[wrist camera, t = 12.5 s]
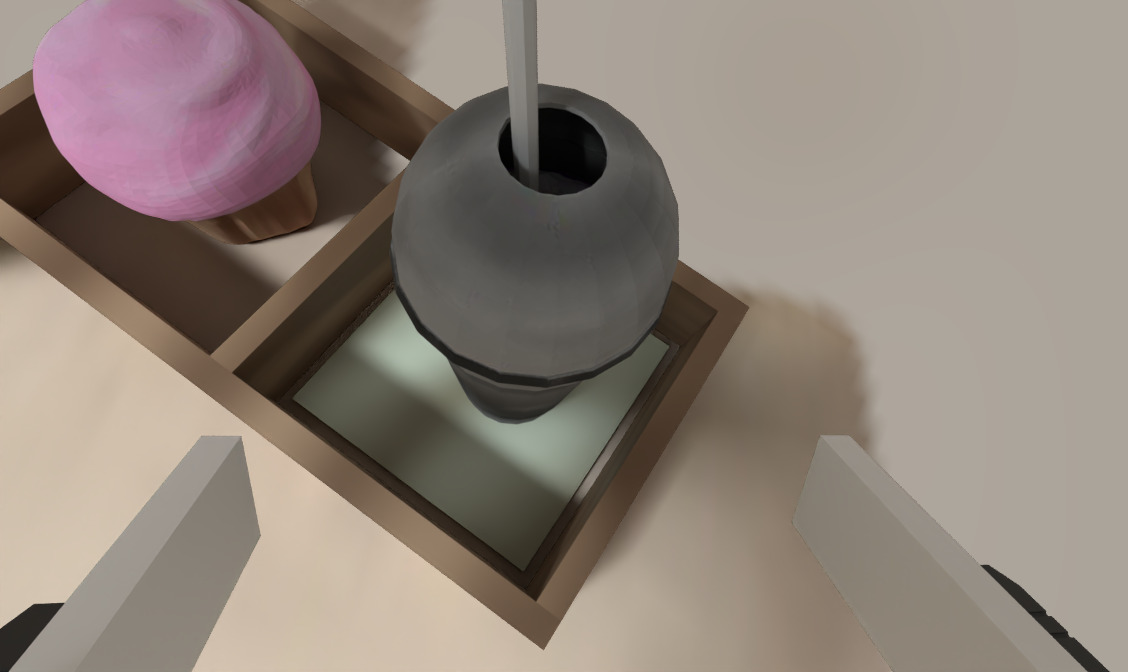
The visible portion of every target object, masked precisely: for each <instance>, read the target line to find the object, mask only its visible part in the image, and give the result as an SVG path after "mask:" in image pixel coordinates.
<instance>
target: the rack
mask: <svg viewBox="0 0 1128 672" xmlns="http://www.w3.org/2000/svg"><path fill="white" fill-rule="evenodd" d="M238 1H240V2H241V3H243V4H245V5H246V6H248V7H250V8H251V9H252V10H253V11H254V12H256V13H257V14H259V15H260V16H261V17H263V18H264V19H265V20H267V21H268V22H269V23H270V24H271V25H272V26H273V27H274V28H275V29H276V30H277V32H278V33H279V34H280V36H281V37H282V38H283V39H284V41H285V42H286V43H287V45H288V46H289V47H290V48H291V50H292V51H293V52H294V53H295V55H296V56H297V57H298V58H299V60H300V61H301V62H302V64H303V65H304V67H305V68H306V70H307V71H308V73H309V74H310V76H311V78H312V79H313V82H314V85H315V88H316V90H317V93H318V98H319V99H320V100H322V101H323V102H325V103H326V104H328V105H329V106H331V107H332V108H334V109H335V110H337V111H338V112H339V113H341V114H342V115H344V116H345V117H347V118H348V119H350V120H351V121H353V122H354V123H356V124H357V125H358V126H360V127H361V128H363V129H364V130H366V131H367V132H369V133H370V134H372V135H373V136H374V137H376V138H377V139H379V140H380V141H382V142H383V143H385V144H386V145H388V146H389V147H391V148H392V149H393V150H395V151H396V152H398V153H399V154H401V155H402V156H404V157H405V158H407V159H408V160H410V161H411V159H412V158H413V156H414V155H415V153H416V152H417V150H418V149H419V147H420V146H421V144H422V143H423V141H424V140H425V138H426V136H427V135H428V134H429V133H430V131H431V130H432V129H433V128H434V127H435V126H436V125H437V124H438V123H440V122H441V121H442V120H443V119H445V118H446V117H447V116H449V115H450V114H451V113H453V112H454V111H455V110H454V109H452V108H451V107H449V106H448V105H446V104H445V103H444V102H442V101H440V100H439V99H438V98H436V97H435V96H433V95H432V94H430V93H429V92H427V91H426V90H424V89H423V88H421V87H420V86H418V85H417V84H415V83H414V82H412V81H411V80H409V79H408V78H406V77H405V76H403V75H402V74H400V73H399V72H397V71H396V70H394V69H393V68H391V67H390V66H388V65H387V64H385V63H384V62H382V61H381V60H379V59H378V58H376V57H375V56H373V55H372V54H370V53H369V52H367V51H366V50H364V49H363V48H361V47H360V46H358V45H357V44H355V43H354V42H352V41H351V40H349V39H348V38H346V37H345V36H343V35H342V34H340V33H339V32H337V31H336V30H334V29H333V28H331V27H330V26H328V25H327V24H325V23H324V22H323V21H321V20H320V19H318V18H317V17H315V16H314V15H312V14H311V13H309V12H308V11H306V10H305V9H303V8H302V7H300V6H299V5H297V4H296V3H294V2H293V1H291V0H238ZM406 168H407V167H406ZM406 168H405V169H404V170H403V171H402V172H401V173H400V174H399V175H398V176H397V177H396V178H395V179H394V180H393V181H392V182H390V183H389V184H388V185H387V186H386V187H385V188H384V189H383V190H382V191H381V192H380V193H379V194H378V195H377V196H376V197H375V198H374V199H373V200H372V201H371V202H370V203H369V204H368V205H367V206H365V207H364V208H363V209H362V210H361V211H360V212H359V213H358V214H357V215H356V216H355V217H354V218H353V219H352V220H351V221H350V222H349V223H348V224H347V225H346V226H345V227H344V228H343V229H342V230H340V231H339V232H338V233H337V234H336V235H335V236H334V237H333V238H332V239H331V240H330V241H329V242H328V243H327V244H326V245H325V246H324V247H323V248H322V249H321V250H320V251H319V252H318V253H316V254H315V255H314V256H313V257H312V258H311V259H310V260H309V261H308V262H307V263H306V264H305V265H304V266H303V267H302V268H301V269H300V270H299V271H298V272H297V273H296V274H295V275H294V276H293V277H291V278H290V279H289V280H288V281H287V282H286V283H285V284H284V285H283V286H282V287H281V288H280V289H279V290H278V291H277V292H276V293H275V294H274V295H273V296H272V297H271V298H270V299H269V300H268V301H266V302H265V303H264V304H263V305H262V306H261V307H260V308H259V309H258V310H257V311H256V312H255V313H254V314H253V315H252V316H251V317H250V318H249V319H248V320H247V321H246V322H245V323H244V324H242V325H241V326H240V327H239V328H238V329H237V330H236V331H235V332H234V333H233V334H232V335H231V336H230V337H229V338H228V339H227V340H226V341H225V342H224V343H223V344H222V345H221V346H220V347H219V348H217V349H216V350H215V351H214V352H213V353H212V354H211V353H210V352H209V351H207V350H206V349H205V348H203V347H202V346H201V345H199V344H198V343H197V342H195V341H194V340H193V339H191V338H190V337H189V336H187V335H186V334H185V333H183V332H182V331H181V330H179V329H178V328H177V327H175V326H174V325H173V324H171V323H170V322H169V321H167V320H166V319H165V318H163V317H162V316H161V315H159V314H158V313H157V312H155V311H154V310H153V309H151V308H150V307H149V306H147V305H146V304H145V303H143V302H142V301H141V300H139V299H138V298H137V297H136V296H134V295H133V294H132V293H130V292H129V291H128V290H126V289H125V288H124V287H122V286H121V285H120V284H118V283H117V282H116V281H114V280H113V279H112V278H110V277H109V276H108V275H106V274H105V273H104V272H102V271H101V270H100V269H98V268H97V267H96V266H94V265H93V264H92V263H90V262H89V261H88V260H86V259H85V258H84V257H82V256H81V255H80V254H78V253H77V252H76V251H74V250H73V249H72V248H70V247H69V246H68V245H66V244H65V243H64V242H62V241H61V240H60V239H58V238H57V237H56V236H54V235H53V234H52V233H50V232H49V231H48V230H46V229H45V228H44V227H42V226H41V225H40V224H38V223H37V222H36V221H34V220H33V219H35V218H36V217H37V216H39V215H40V214H41V213H43V212H44V211H46V210H47V209H48V208H50V207H51V206H52V205H54V204H55V203H56V202H58V201H59V200H60V199H62V198H63V197H64V196H66V195H67V194H69V193H70V192H71V191H73V190H74V189H75V188H77V187H78V186H79V185H81V184H82V183H83V182H85V181H86V180H84V178H83V177H82V176H81V175H80V174H79V173H78V172H77V171H76V170H75V169H74V167H73V166H72V165H71V164H70V163H69V162H68V160H67V159H66V158H65V157H64V156H63V155H62V154H61V152H60V151H59V149H58V148H57V146H56V145H55V143H54V142H53V139H52V137H51V134H50V132H49V129H48V127H47V125H46V122H45V120H44V117H43V115H42V113H41V110H40V108H39V105H38V102H37V99H36V96H35V92H34V83H33V69H32V70H30V71H29V72H27V73H25V74H24V75H22V76H21V77H19V78H18V79H16V80H15V81H13V82H11V83H10V84H8V85H7V86H5V87H3V88H2V89H0V237H1V238H3V239H4V240H5V241H7V242H8V243H9V244H10V245H12V246H13V247H14V248H16V249H17V250H18V251H20V252H21V253H22V254H24V255H25V256H26V257H28V258H29V259H30V260H31V261H33V262H34V263H35V264H37V265H38V266H39V267H41V268H42V269H43V270H45V271H46V272H47V273H49V274H50V275H51V276H53V277H54V278H55V279H56V280H58V281H59V282H60V283H62V284H63V285H64V286H66V287H67V288H68V289H70V290H71V291H72V292H74V293H75V294H76V295H77V296H79V297H80V298H81V299H83V300H84V301H85V302H87V303H88V304H89V305H91V306H92V307H93V308H95V309H96V310H97V311H99V312H100V313H101V314H102V315H104V316H105V317H106V318H108V319H109V320H110V321H112V322H113V323H114V324H116V325H117V326H118V327H120V328H121V329H122V330H123V331H125V332H126V333H127V334H129V335H130V336H131V337H133V338H134V339H135V340H137V341H138V342H139V343H141V344H142V345H143V346H144V347H146V348H147V349H148V350H150V351H151V352H152V353H154V354H155V355H156V356H158V357H159V358H160V359H162V360H163V361H164V362H166V363H167V364H168V365H169V366H171V367H172V368H173V369H175V370H176V371H177V372H179V373H180V374H181V375H183V376H184V377H185V378H187V379H188V380H189V381H190V382H192V383H193V384H194V385H196V386H197V387H198V388H200V389H201V390H202V391H204V392H205V393H206V394H208V395H209V396H210V397H212V398H213V399H214V400H215V401H217V402H218V403H219V404H221V405H222V406H223V407H225V408H226V409H227V410H229V411H230V412H231V413H233V414H234V415H235V416H236V417H238V418H239V419H240V420H242V421H243V422H244V423H246V424H247V425H248V426H250V427H251V428H252V429H254V430H255V431H256V432H258V433H259V434H260V435H261V436H263V437H264V438H265V439H267V440H268V441H269V442H271V443H272V444H273V445H275V446H276V447H277V448H279V449H280V450H281V451H282V452H284V453H285V454H286V455H288V456H289V457H290V458H292V459H293V460H294V461H296V462H297V463H298V464H300V465H301V466H302V467H304V468H305V469H306V470H307V471H309V472H310V473H311V474H313V475H314V476H315V477H317V478H318V479H319V480H321V481H322V482H323V483H325V484H326V485H327V486H328V487H330V488H331V489H332V490H334V491H335V492H336V493H338V494H339V495H340V496H342V497H343V498H344V499H346V500H347V501H348V502H350V503H351V504H352V505H353V506H355V507H356V508H357V509H359V510H360V511H361V512H363V513H364V514H365V515H367V516H368V517H369V518H371V519H372V520H373V521H374V522H376V523H377V524H378V525H380V526H381V527H382V528H384V529H385V530H386V531H388V532H389V533H390V534H392V535H393V536H394V537H395V538H397V539H398V540H399V541H401V542H402V543H403V544H405V545H406V546H407V547H409V548H410V549H411V550H413V551H414V552H415V553H417V554H418V555H419V556H420V557H422V558H423V559H424V560H426V561H427V562H428V563H430V564H431V565H432V566H434V567H435V568H436V569H438V570H439V571H440V572H441V573H443V574H444V575H445V576H447V577H448V578H449V579H451V580H452V581H453V582H455V583H456V584H457V585H459V586H460V587H461V588H463V589H464V590H465V591H466V592H468V593H469V594H470V595H472V596H473V597H474V598H476V599H477V600H478V601H480V602H481V603H482V604H484V605H485V606H486V607H487V608H489V609H490V610H491V611H493V612H494V613H495V614H497V615H498V616H499V617H501V618H502V619H503V620H505V621H506V622H507V623H509V624H510V625H511V626H512V627H514V628H515V629H516V630H518V631H519V632H520V633H522V634H523V635H524V636H526V637H527V638H528V639H530V640H531V641H532V642H533V643H535V644H536V645H537V646H539V647H540V648H541V649H543V650H544V649H545V647H546V645H547V644H548V642H549V640H550V639H551V637H552V635H553V634H554V632H555V630H556V629H557V627H558V625H559V624H560V622H561V620H562V619H563V617H564V615H565V614H566V612H567V610H568V609H569V607H570V605H571V604H572V602H573V600H574V599H575V597H576V595H577V594H578V592H579V590H580V589H581V587H582V585H583V584H584V582H585V580H586V579H587V577H588V575H589V574H590V572H591V570H592V569H593V567H594V566H595V564H596V562H597V561H598V559H599V557H600V556H601V554H602V552H603V551H604V549H605V547H606V546H607V544H608V542H609V541H610V539H611V537H612V536H613V534H614V532H615V531H616V529H617V527H618V526H619V524H620V522H621V521H622V519H623V517H624V516H625V514H626V512H627V511H628V509H629V507H630V506H631V504H632V502H633V501H634V499H635V497H636V496H637V494H638V492H639V491H640V489H641V487H642V486H643V484H644V482H645V481H646V479H647V477H648V476H649V474H650V472H651V471H652V469H653V467H654V466H655V464H656V462H657V461H658V459H659V457H660V456H661V454H662V452H663V451H664V449H665V447H666V446H667V444H668V442H669V441H670V439H671V437H672V436H673V434H674V432H675V431H676V429H677V427H678V426H679V424H680V422H681V421H682V419H683V417H684V416H685V414H686V412H687V411H688V409H689V407H690V406H691V404H692V402H693V401H694V399H695V397H696V396H697V394H698V392H699V391H700V389H701V387H702V386H703V384H704V382H705V381H706V379H707V377H708V376H709V374H710V372H711V371H712V369H713V367H714V366H715V364H716V362H717V361H718V359H719V357H720V356H721V354H722V352H723V351H724V349H725V347H726V346H727V344H728V342H729V341H730V339H731V337H732V336H733V334H734V332H735V331H736V329H737V327H738V326H739V324H740V322H741V321H742V319H743V317H744V316H745V314H746V312H747V311H748V309H749V307H748V306H747V305H745V304H744V303H742V302H741V301H739V300H738V299H736V298H735V297H733V296H732V295H730V294H729V293H727V292H726V291H724V290H723V289H721V288H720V287H718V286H717V285H715V284H714V283H712V282H711V281H709V280H708V279H707V278H705V277H704V276H702V275H701V274H699V273H698V272H696V271H695V270H693V269H692V268H690V267H689V266H687V265H686V264H684V263H683V262H681V261H680V260H678V261H677V266H676V269H675V272H674V275H673V278H672V286H671V290H670V292H669V295H668V298H667V301H666V303H665V306H664V309H663V311H662V314H661V317H660V320H659V322H658V325H657V326H656V327H655V329H656V330H658V331H659V332H661V333H662V334H663V335H665V336H666V337H668V338H669V339H671V340H672V341H674V342H675V343H677V344H678V345H680V346H681V348H680V349H679V351H678V352H677V354H676V355H675V357H674V359H673V360H672V362H671V363H670V365H669V366H668V368H667V370H666V371H665V373H664V374H663V376H662V377H661V379H660V380H659V382H658V384H657V385H656V387H655V388H654V390H653V391H652V393H651V395H650V396H649V398H648V399H647V401H646V402H645V404H644V406H643V407H642V409H641V410H640V412H639V413H638V415H637V416H636V418H635V420H634V421H633V423H632V424H631V426H630V427H629V429H628V431H627V432H626V434H625V435H624V437H623V438H622V440H621V441H620V443H619V445H618V446H617V448H616V449H615V451H614V452H613V454H612V456H611V457H610V459H609V460H608V462H607V463H606V465H605V467H604V468H603V470H602V471H601V473H600V474H599V476H598V477H597V479H596V481H595V482H594V484H593V485H592V487H591V488H590V490H589V492H588V493H587V495H586V496H585V498H584V499H583V501H582V502H581V504H580V506H579V507H578V509H577V510H576V512H575V513H574V515H573V517H572V518H571V520H570V521H569V523H568V524H567V526H566V528H565V529H564V531H563V532H562V534H561V535H560V537H559V538H558V540H557V542H556V543H555V545H554V546H553V548H552V549H551V551H550V553H549V554H548V556H547V557H546V559H545V560H544V562H543V563H542V565H541V567H540V568H539V570H538V571H537V573H536V574H535V576H534V578H533V579H532V581H531V582H530V584H529V585H528V587H527V589H526V590H525V589H524V588H522V587H521V586H520V585H518V584H517V583H516V582H514V581H513V580H512V579H510V578H509V577H508V576H507V575H505V574H504V573H503V572H501V571H500V570H499V569H497V568H496V567H495V566H493V565H492V564H491V563H489V562H488V561H487V560H485V559H484V558H483V557H481V556H480V555H479V554H477V553H476V552H475V551H473V550H472V549H471V548H469V547H468V546H467V545H465V544H464V543H463V542H461V541H460V540H459V539H457V538H456V537H455V536H453V535H452V534H451V533H449V532H448V531H447V530H445V529H444V528H443V527H441V526H440V525H439V524H437V523H436V522H435V521H433V520H432V519H431V518H429V517H428V516H427V515H425V514H424V513H423V512H421V511H420V510H419V509H417V508H416V507H415V506H413V505H412V504H411V503H409V502H408V501H407V500H405V499H404V498H403V497H401V496H400V495H399V494H397V493H396V492H395V491H393V490H392V489H391V488H389V487H388V486H387V485H385V484H384V483H383V482H382V481H380V480H379V479H378V478H376V477H375V476H374V475H372V474H371V473H370V472H368V471H367V470H366V469H364V468H363V467H362V466H360V465H359V464H358V463H356V462H355V461H354V460H352V459H351V458H350V457H348V456H347V455H346V454H344V453H343V452H342V451H340V450H339V449H338V448H336V447H335V446H334V445H332V444H331V443H330V442H328V441H327V440H326V439H324V438H323V437H322V436H320V435H319V434H318V433H316V432H315V431H314V430H312V429H311V428H310V427H308V426H307V425H306V424H304V423H303V422H302V421H300V420H299V419H298V418H296V417H295V416H294V415H292V414H291V413H290V412H288V411H287V410H286V409H284V408H283V407H282V406H280V405H279V404H278V403H276V402H277V401H278V400H279V399H280V398H281V397H282V396H283V395H284V394H285V393H286V392H287V391H288V390H289V389H290V387H291V386H292V385H293V384H294V383H295V382H296V381H297V380H298V379H299V378H300V377H301V376H302V375H303V374H304V373H305V372H306V371H307V370H308V368H309V367H310V366H311V365H312V364H313V363H314V362H315V361H316V360H317V359H318V358H319V357H320V356H321V355H322V354H323V353H324V352H325V351H326V349H327V348H328V347H329V346H330V345H331V344H332V343H333V342H334V341H335V340H336V339H337V338H338V337H339V336H340V335H341V334H342V333H343V331H344V330H345V329H346V328H347V327H348V326H349V325H350V324H351V323H352V322H353V321H354V320H355V319H356V318H357V317H358V316H359V315H360V314H361V312H362V311H363V310H364V309H365V308H366V307H367V306H368V305H369V304H370V303H371V302H372V301H373V300H374V299H375V298H376V297H377V296H378V295H379V293H380V292H381V291H382V290H383V289H384V288H385V287H386V286H387V285H388V284H389V283H390V282H391V281H392V280H393V273H392V267H391V261H390V255H389V250H390V245H391V240H392V232H391V230H392V223H393V216H394V211H395V207H396V202H397V197H398V193H399V188H400V183H401V179H402V177H403V174H404V172H405V170H406ZM669 347H670V346H668V345H667V344H665V343H664V342H662V341H661V340H659V339H658V338H657V337H655V336H654V335H652V334H651V333H650V334H649V335H648V337H647V338H646V339H645V340H644V341H643V342H642V344H641V345H640V346H639V347H638V348H637V350H636V351H635V352H634V353H633V354H632V355H631V356H630V357H629V358H627V359H625V360H623V361H622V362H620V363H618V364H617V365H615V366H613V367H611V368H610V369H608V370H606V371H604V372H603V373H601V374H599V375H598V376H596V377H594V378H592V379H588V380H583V381H582V382H581V383H580V384H579V385H578V386H577V387H576V388H575V389H573V390H572V391H571V392H570V393H569V394H568V395H567V396H566V397H565V398H564V399H563V400H562V401H561V402H560V403H559V404H558V405H556V406H555V407H554V408H553V409H552V410H550V411H548V412H547V413H545V414H544V415H542V416H540V417H539V418H537V419H535V420H533V421H531V422H526V423H521V424H517V425H516V424H506V423H499V422H497V421H495V420H493V419H490V418H488V417H486V416H485V415H483V414H482V413H481V412H480V411H479V410H478V409H477V408H476V407H474V405H473V404H472V402H471V401H469V399H468V397H467V396H466V394H465V392H464V390H463V389H462V387H461V385H460V383H459V381H458V379H457V377H456V375H455V373H454V371H453V370H452V368H451V366H450V364H449V362H448V360H447V358H446V357H445V356H444V355H443V354H442V353H441V352H439V351H438V350H437V349H436V348H435V347H434V346H433V345H431V344H430V343H429V342H428V341H427V340H426V339H425V338H424V337H422V336H421V335H420V334H419V333H418V332H417V330H416V329H415V327H414V325H413V323H412V321H411V320H410V318H409V316H408V314H407V313H406V311H405V309H404V307H403V306H402V304H401V302H400V300H399V298H398V297H397V295H396V292H395V289H394V290H393V291H392V292H391V293H390V294H389V295H388V296H387V297H386V298H385V300H384V301H383V302H382V303H381V304H380V305H379V306H378V307H377V308H376V309H375V310H374V311H373V312H372V313H371V314H370V316H369V317H368V318H367V319H366V320H365V321H364V322H363V323H362V324H361V325H360V326H359V327H358V328H357V329H356V330H355V332H354V333H353V334H352V335H351V336H350V337H349V338H348V339H347V340H346V341H345V342H344V343H343V344H342V345H341V347H340V348H339V349H338V350H337V351H336V352H335V353H334V354H333V355H332V356H331V357H330V358H329V359H328V360H327V361H326V363H325V364H324V365H323V366H322V367H321V368H320V369H319V370H318V371H317V372H316V373H315V374H314V375H313V376H312V377H311V379H310V380H309V381H308V382H307V383H306V384H305V385H304V386H303V387H302V388H301V389H300V390H299V391H298V392H297V393H296V395H295V396H294V397H293V398H292V399H294V400H295V401H296V402H298V403H299V404H300V405H302V406H303V407H304V408H306V409H307V410H308V411H310V412H311V413H312V414H314V415H315V416H316V417H318V418H319V419H320V420H322V421H323V422H324V423H326V424H327V425H328V426H330V427H331V428H332V429H334V430H335V431H336V432H338V433H339V434H340V435H342V436H343V437H344V438H346V439H347V440H348V441H350V442H351V443H352V444H354V445H355V446H356V447H358V448H359V449H360V450H362V451H363V452H364V453H366V454H367V455H368V456H370V457H371V458H372V459H374V460H375V461H376V462H378V463H379V464H380V465H382V466H383V467H384V468H386V469H387V470H388V471H390V472H391V473H392V474H394V475H395V476H396V477H398V478H399V479H400V480H402V481H403V482H404V483H406V484H407V485H408V486H410V487H411V488H412V489H414V490H415V491H416V492H418V493H419V494H420V495H422V496H423V497H424V498H426V499H427V500H428V501H430V502H431V503H432V504H434V505H435V506H436V507H438V508H439V509H440V510H442V511H443V512H444V513H446V514H447V515H448V516H450V517H451V518H453V519H454V520H455V521H457V522H458V523H459V524H461V525H462V526H463V527H465V528H466V529H467V530H469V531H470V532H471V533H473V534H474V535H475V536H477V537H478V538H479V539H481V540H482V541H483V542H485V543H486V544H487V545H489V546H490V547H491V548H493V549H494V550H495V551H497V552H498V553H499V554H501V555H502V556H503V557H505V558H506V559H507V560H509V561H510V562H511V563H513V564H514V565H515V566H517V567H518V568H519V569H521V570H522V571H524V570H525V568H526V567H527V565H528V564H529V562H530V561H531V559H532V558H533V556H534V554H535V553H536V551H537V550H538V548H539V547H540V545H541V544H542V542H543V541H544V539H545V538H546V536H547V534H548V533H549V531H550V530H551V528H552V527H553V525H554V524H555V522H556V521H557V519H558V518H559V516H560V514H561V513H562V511H563V510H564V508H565V507H566V505H567V504H568V502H569V501H570V499H571V497H572V496H573V494H574V493H575V491H576V490H577V488H578V487H579V485H580V484H581V482H582V481H583V479H584V477H585V476H586V474H587V473H588V471H589V470H590V468H591V467H592V465H593V464H594V462H595V461H596V459H597V457H598V456H599V454H600V453H601V451H602V450H603V448H604V447H605V445H606V444H607V442H608V441H609V439H610V437H611V436H612V434H613V433H614V431H615V430H616V428H617V427H618V425H619V424H620V422H621V421H622V419H623V417H624V416H625V414H626V413H627V411H628V410H629V408H630V407H631V405H632V404H633V402H634V401H635V399H636V397H637V396H638V394H639V393H640V391H641V390H642V388H643V387H644V385H645V384H646V382H647V380H648V379H649V377H650V376H651V374H652V373H653V371H654V370H655V368H656V367H657V365H658V364H659V362H660V360H661V359H662V357H663V356H664V354H665V353H666V351H667V350H668V348H669Z"/></svg>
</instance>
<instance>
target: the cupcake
mask: <svg viewBox="0 0 1128 672" xmlns="http://www.w3.org/2000/svg"><path fill="white" fill-rule="evenodd" d="M33 83H34V92H35V96H36V99H37V102H38V105H39V108H40V110H41V113H42V115H43V117H44V120H45V122H46V125H47V127H48V129H49V132H50V134H51V137H52V139H53V142H54V143H55V145H56V146H57V148H58V149H59V151H60V152H61V154H62V155H63V156H64V157H65V158H66V159H67V160H68V162H69V163H70V164H71V165H72V166H73V167H74V169H75V170H76V171H77V172H78V173H79V174H80V175H81V176H82V177H83V178H84V180H86V181H87V182H88V183H89V184H90V185H92V186H93V187H94V188H96V189H97V190H99V191H100V192H102V193H103V194H105V195H107V196H108V197H110V198H112V199H113V200H115V201H117V202H119V203H121V204H122V205H124V206H126V207H128V208H130V209H132V210H135V211H137V212H140V213H142V214H146V215H149V216H153V217H158V218H162V219H165V220H168V221H185V222H188V223H190V224H192V225H193V226H195V227H197V228H198V229H200V230H202V231H203V232H205V233H206V234H208V235H210V236H212V237H213V238H215V239H217V240H219V241H221V242H224V243H228V244H236V245H241V244H246V243H249V242H252V241H255V240H262V239H266V238H269V237H273V236H276V235H279V234H284V233H290V232H292V231H294V230H297V229H299V228H301V227H304V226H307V225H309V224H311V223H312V221H313V219H314V216H315V214H316V210H317V205H318V201H317V194H316V190H315V186H314V182H313V178H312V171H311V157H312V156H313V155H314V153H315V151H316V149H317V147H318V144H319V140H320V132H321V113H320V104H319V98H318V93H317V90H316V88H315V85H314V82H313V79H312V78H311V76H310V74H309V73H308V71H307V70H306V68H305V67H304V65H303V64H302V62H301V61H300V60H299V58H298V57H297V56H296V55H295V53H294V52H293V51H292V50H291V48H290V47H289V46H288V45H287V43H286V42H285V41H284V39H283V38H282V37H281V36H280V34H279V33H278V32H277V30H276V29H275V28H274V27H273V26H272V25H271V24H270V23H269V22H268V21H267V20H265V19H264V18H263V17H261V16H260V15H259V14H257V13H256V12H254V11H253V10H252V9H251V8H250V7H248V6H246V5H245V4H243V3H241V2H240V1H238V0H86V1H84V2H83V3H82V4H80V5H79V6H77V7H76V8H75V9H74V10H73V11H71V12H70V13H69V14H68V15H67V16H65V17H64V18H63V19H62V20H60V21H59V22H58V23H56V24H55V25H54V26H52V27H51V28H50V29H49V30H48V31H47V33H46V34H45V36H44V37H43V39H42V40H41V42H40V44H39V46H38V47H37V50H36V53H35V56H34V60H33Z"/></svg>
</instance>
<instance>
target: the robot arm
mask: <svg viewBox="0 0 1128 672" xmlns="http://www.w3.org/2000/svg"><path fill="white" fill-rule="evenodd" d="M792 524H793V525H794V527H795V528H796V529H797V531H798V532H799V534H800V535H801V537H802V538H803V540H804V541H805V543H806V544H807V546H808V547H809V549H810V550H811V552H812V553H813V554H814V556H815V557H816V559H817V560H818V562H819V563H820V565H821V566H822V568H823V569H824V571H825V572H826V574H827V575H828V577H829V578H830V580H831V581H832V582H833V584H834V585H835V587H836V588H837V590H838V591H839V593H840V594H841V596H842V597H843V599H844V600H845V602H846V603H847V605H848V606H849V607H850V609H851V610H852V612H853V613H854V615H855V616H856V618H857V619H858V621H859V622H860V624H861V625H862V627H863V628H864V630H865V631H866V633H867V634H868V635H869V637H870V638H871V640H872V641H873V643H874V644H875V646H876V647H877V649H878V650H879V652H880V653H881V655H882V656H883V658H884V659H885V660H886V662H887V663H888V665H889V666H890V668H891V669H892V671H893V672H1109V671H1108V670H1107V669H1106V668H1105V667H1104V666H1103V665H1102V664H1101V663H1100V662H1099V661H1098V660H1097V659H1096V658H1095V657H1094V656H1093V655H1092V654H1091V653H1089V652H1088V651H1087V650H1086V649H1085V648H1084V647H1083V646H1082V645H1081V644H1080V643H1079V642H1078V641H1077V640H1076V639H1075V638H1071V637H1069V635H1068V632H1067V631H1066V630H1065V629H1064V628H1063V627H1062V626H1061V625H1060V624H1059V623H1058V622H1057V621H1056V620H1055V619H1054V618H1053V617H1052V616H1047V614H1046V610H1045V609H1043V608H1042V607H1041V606H1040V605H1039V604H1038V603H1037V602H1036V601H1035V600H1034V599H1033V598H1032V597H1031V596H1030V595H1029V594H1028V593H1027V592H1026V591H1025V590H1024V589H1022V587H1020V586H1019V585H1018V584H1016V583H1014V582H1013V581H1012V580H1010V579H1009V578H1007V577H1006V576H1004V575H1003V574H1001V573H1000V572H998V571H996V570H995V569H994V568H992V567H991V566H989V565H979V564H978V563H977V562H976V561H975V560H974V559H973V558H972V557H971V556H970V555H969V554H968V553H967V552H966V551H965V550H964V549H963V548H962V547H961V546H960V545H959V544H958V543H957V542H956V541H955V540H954V539H953V538H952V537H951V536H950V535H949V534H948V533H947V532H946V531H945V530H944V529H943V528H942V527H941V526H940V525H939V524H938V523H937V522H936V521H935V520H934V519H933V518H932V517H931V516H930V515H929V514H928V513H927V512H926V511H925V510H924V509H923V508H922V507H921V506H920V505H919V504H918V503H917V502H916V501H915V500H914V499H913V498H912V497H911V496H910V495H909V494H908V493H907V492H906V491H905V490H904V489H903V488H902V487H901V486H900V485H899V484H898V483H897V482H896V481H895V480H894V479H893V478H892V477H891V476H890V475H889V474H888V473H887V472H886V471H885V470H884V469H883V468H882V467H881V466H880V465H879V464H878V463H877V462H876V461H875V460H874V459H873V458H872V457H871V456H870V455H868V454H867V453H866V452H865V451H864V450H863V449H862V448H861V447H860V446H859V445H858V444H857V443H856V442H855V441H854V440H853V439H852V438H851V437H850V436H849V435H820V437H819V440H818V443H817V446H816V449H815V452H814V456H813V459H812V462H811V465H810V468H809V471H808V474H807V477H806V480H805V483H804V486H803V489H802V492H801V495H800V498H799V501H798V504H797V507H796V510H795V513H794V517H793V520H792ZM260 536H261V535H260V530H259V525H258V520H257V515H256V509H255V504H254V499H253V494H252V489H251V484H250V478H249V473H248V468H247V463H246V458H245V453H244V447H243V442H242V437H241V436H201V438H200V439H199V440H198V441H197V442H196V444H195V445H194V446H193V447H192V448H191V450H190V451H189V452H188V453H187V455H186V456H185V457H184V458H183V459H182V461H181V462H180V463H179V464H178V466H177V467H176V468H175V469H174V470H173V472H172V473H171V474H170V475H169V477H168V478H167V479H166V480H165V481H164V483H163V484H162V485H161V486H160V488H159V489H158V490H157V491H156V492H155V494H154V495H153V496H152V497H151V499H150V500H149V501H148V502H147V503H146V505H145V506H144V507H143V508H142V510H141V511H140V512H139V513H138V514H137V516H136V517H135V518H134V519H133V521H132V522H131V523H130V524H129V525H128V527H127V528H126V529H125V530H124V532H123V533H122V534H121V535H120V536H119V538H118V539H117V540H116V541H115V542H114V544H113V545H112V546H111V547H110V549H109V550H108V551H107V552H106V553H105V555H104V556H103V557H102V558H101V560H100V561H99V562H98V563H97V564H96V566H95V567H94V568H93V569H92V571H91V572H90V573H89V574H88V575H87V577H86V578H85V579H84V580H83V582H82V583H81V584H80V585H79V586H78V588H77V589H76V590H75V591H74V593H73V594H72V595H71V596H70V597H69V599H68V600H67V601H66V602H65V603H48V604H34V605H32V606H31V607H29V608H28V609H27V610H25V611H24V612H23V613H21V614H20V615H18V616H17V617H16V618H14V619H13V620H12V621H10V622H9V623H7V624H6V625H5V626H3V627H2V628H1V629H0V672H191V671H192V669H193V667H194V665H195V664H196V662H197V660H198V658H199V656H200V654H201V652H202V650H203V648H204V646H205V644H206V642H207V640H208V638H209V636H210V634H211V632H212V630H213V628H214V626H215V624H216V622H217V620H218V618H219V616H220V614H221V613H222V611H223V609H224V607H225V605H226V603H227V601H228V599H229V597H230V595H231V593H232V591H233V589H234V587H235V585H236V583H237V581H238V579H239V577H240V575H241V573H242V571H243V569H244V567H245V565H246V563H247V561H248V560H249V558H250V556H251V554H252V552H253V550H254V548H255V546H256V544H257V542H258V540H259V538H260Z"/></svg>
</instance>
